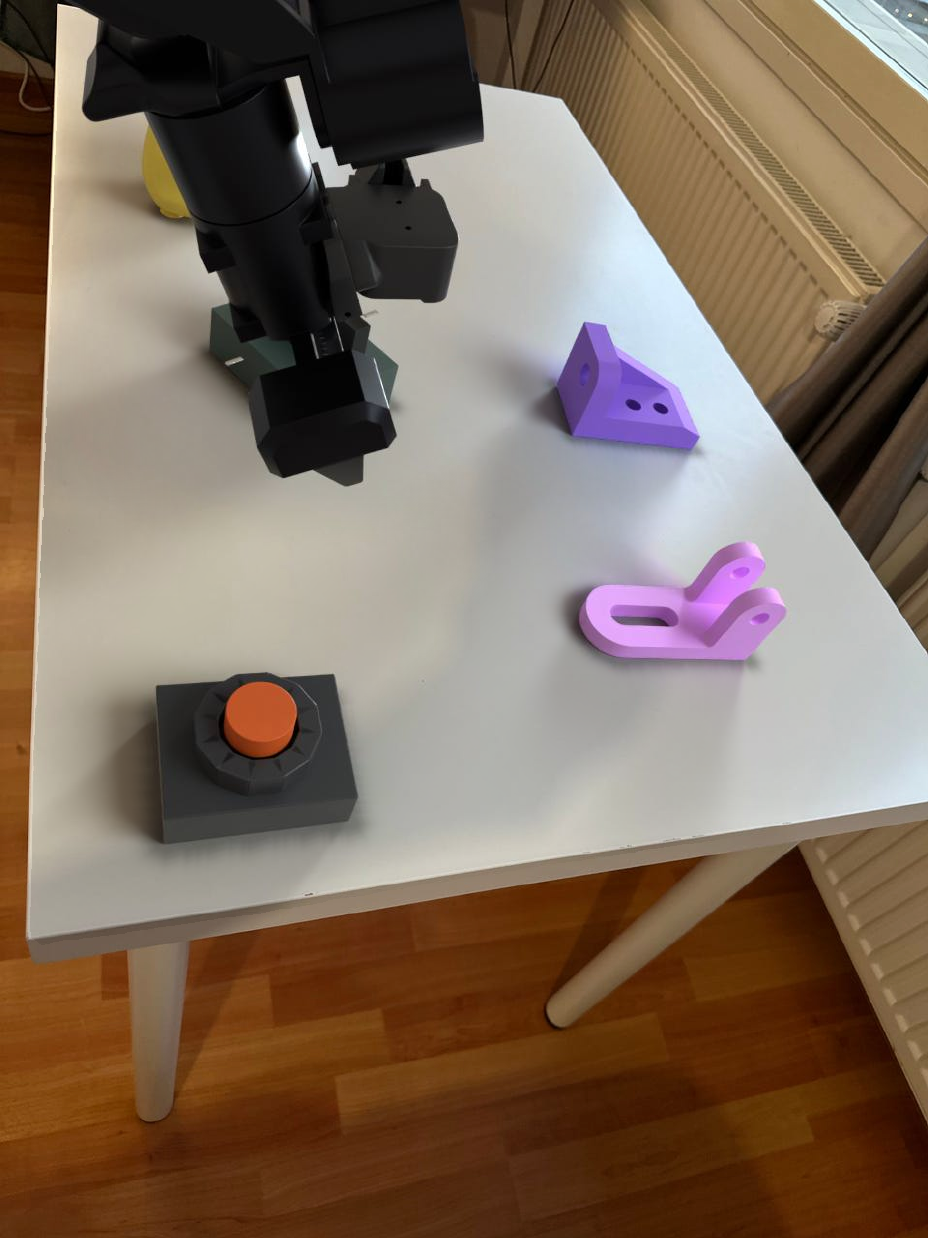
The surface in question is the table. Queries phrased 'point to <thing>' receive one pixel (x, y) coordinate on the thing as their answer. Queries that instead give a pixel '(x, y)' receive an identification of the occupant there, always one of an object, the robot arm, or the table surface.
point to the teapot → (161, 180)
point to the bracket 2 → (689, 612)
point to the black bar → (354, 334)
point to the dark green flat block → (274, 352)
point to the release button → (259, 719)
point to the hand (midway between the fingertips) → (338, 423)
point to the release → (250, 762)
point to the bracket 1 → (621, 396)
